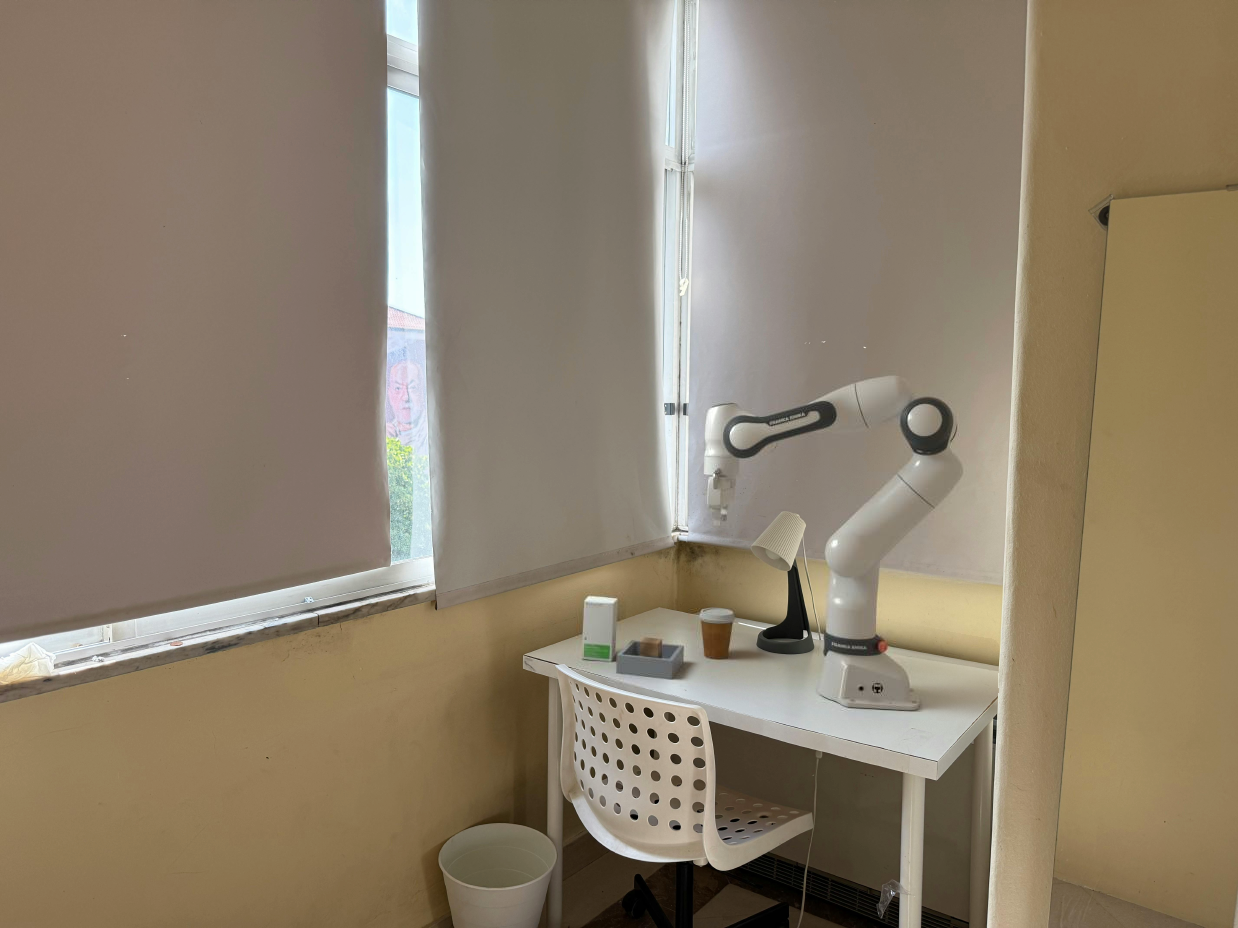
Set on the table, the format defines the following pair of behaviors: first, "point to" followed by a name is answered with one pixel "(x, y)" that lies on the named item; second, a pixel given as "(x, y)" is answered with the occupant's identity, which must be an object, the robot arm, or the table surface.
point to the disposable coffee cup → (716, 631)
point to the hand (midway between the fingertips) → (720, 523)
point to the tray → (650, 661)
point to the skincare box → (599, 628)
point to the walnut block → (651, 648)
